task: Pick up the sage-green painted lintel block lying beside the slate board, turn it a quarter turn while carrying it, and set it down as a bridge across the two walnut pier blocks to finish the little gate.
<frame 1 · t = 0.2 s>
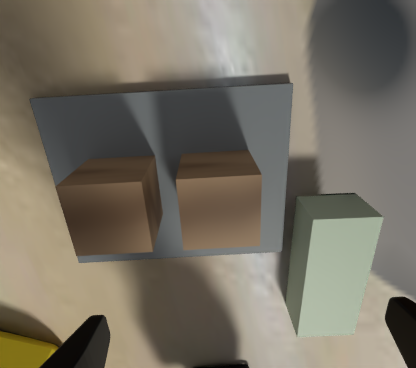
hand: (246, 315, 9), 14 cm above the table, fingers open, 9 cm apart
pier 1: (216, 182, 21), point 1 cm above the table, touching board
lintel: (316, 252, 25), on the table
board: (172, 182, 22), on the table
pier 2: (127, 187, 21), point 1 cm above the table, touching board
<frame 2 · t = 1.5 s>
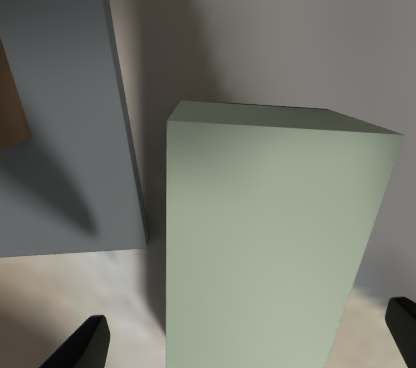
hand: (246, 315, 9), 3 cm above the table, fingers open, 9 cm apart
lintel: (236, 249, 12), on the table
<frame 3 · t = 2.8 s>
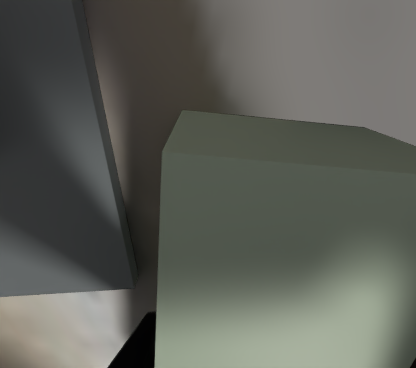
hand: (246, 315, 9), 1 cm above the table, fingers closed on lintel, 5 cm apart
lintel: (242, 288, 10), on the table, touching gripper
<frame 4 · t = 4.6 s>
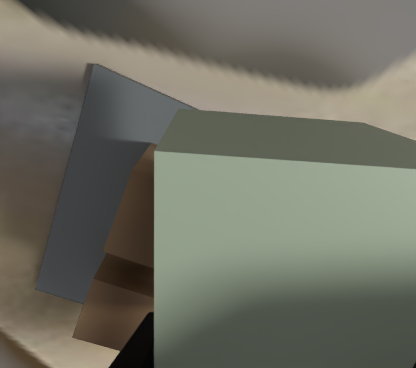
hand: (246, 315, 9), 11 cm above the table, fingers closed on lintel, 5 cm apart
pier 1: (174, 190, 19), point 1 cm above the table, touching board
lintel: (243, 288, 10), point 10 cm above the table, touching gripper
board: (157, 226, 20), on the table
pier 2: (141, 266, 21), point 1 cm above the table, touching board
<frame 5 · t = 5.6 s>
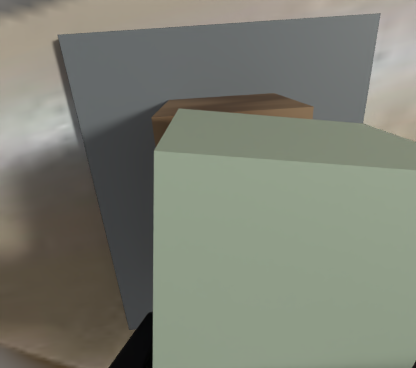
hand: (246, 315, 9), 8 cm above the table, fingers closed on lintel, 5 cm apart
pier 1: (223, 147, 14), point 1 cm above the table, touching board
lintel: (242, 288, 10), point 7 cm above the table, touching gripper
board: (225, 203, 16), on the table
when the fingers open (8 cm above the table, at t = 6.3 s): lintel drops 1 cm, resting on pier 2, pier 1.
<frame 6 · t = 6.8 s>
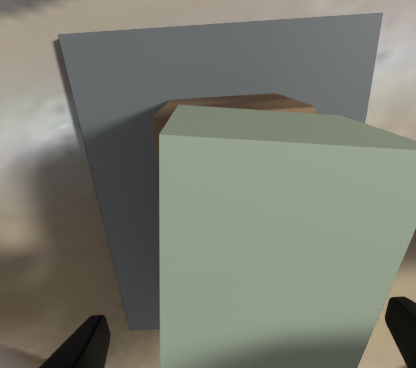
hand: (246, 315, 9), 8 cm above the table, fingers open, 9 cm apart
pier 1: (224, 147, 14), point 1 cm above the table, touching board, lintel
lintel: (239, 267, 11), point 6 cm above the table, touching pier 2, pier 1
board: (226, 203, 16), on the table
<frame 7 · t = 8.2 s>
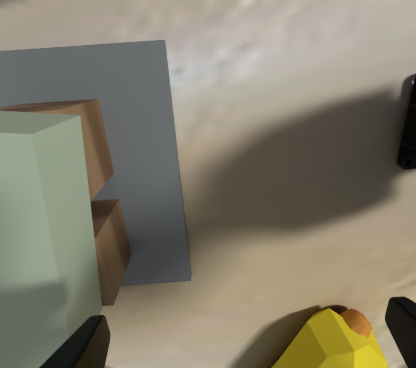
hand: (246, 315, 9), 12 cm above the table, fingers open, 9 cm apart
yellow banana: (298, 356, 29), on the table
pier 1: (68, 140, 18), point 1 cm above the table, touching board, lintel
lintel: (46, 224, 15), point 6 cm above the table, touching pier 2, pier 1
board: (85, 185, 20), on the table
pier 2: (93, 230, 21), point 1 cm above the table, touching board, lintel
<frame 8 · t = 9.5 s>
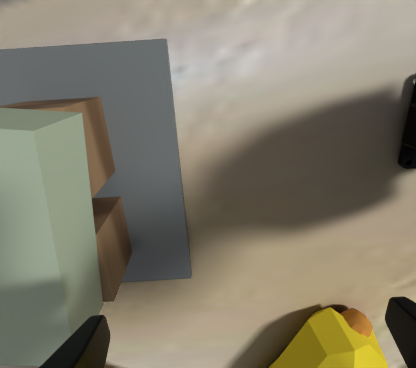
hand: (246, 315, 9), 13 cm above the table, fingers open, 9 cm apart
yellow banana: (298, 355, 29), on the table
pier 1: (71, 138, 18), point 1 cm above the table, touching board, lintel
lintel: (48, 221, 15), point 6 cm above the table, touching pier 2, pier 1
board: (86, 182, 20), on the table
pier 2: (94, 227, 21), point 1 cm above the table, touching board, lintel
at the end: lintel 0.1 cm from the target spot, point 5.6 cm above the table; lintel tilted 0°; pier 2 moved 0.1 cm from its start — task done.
